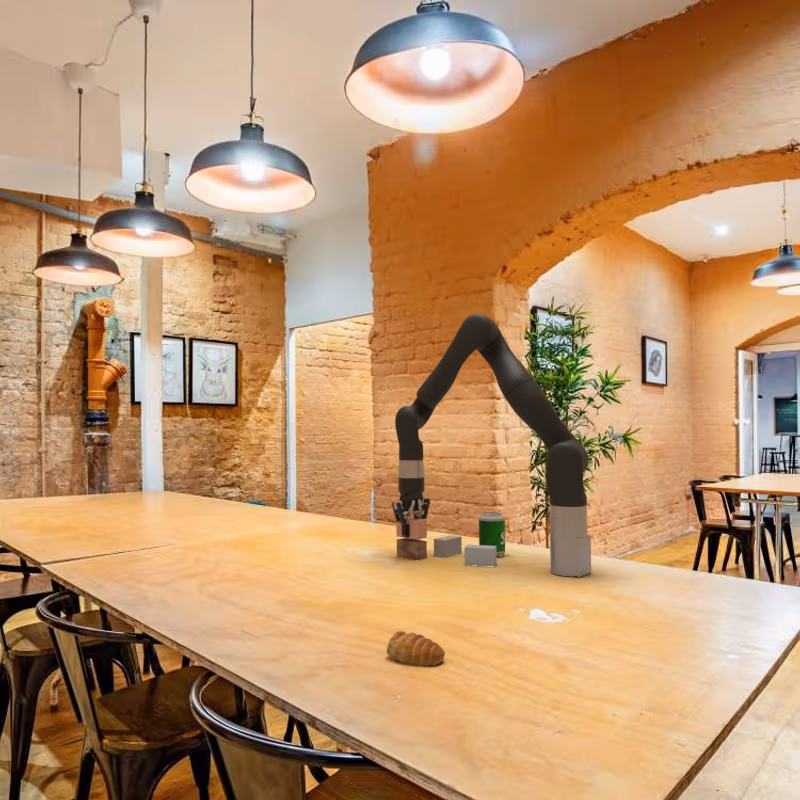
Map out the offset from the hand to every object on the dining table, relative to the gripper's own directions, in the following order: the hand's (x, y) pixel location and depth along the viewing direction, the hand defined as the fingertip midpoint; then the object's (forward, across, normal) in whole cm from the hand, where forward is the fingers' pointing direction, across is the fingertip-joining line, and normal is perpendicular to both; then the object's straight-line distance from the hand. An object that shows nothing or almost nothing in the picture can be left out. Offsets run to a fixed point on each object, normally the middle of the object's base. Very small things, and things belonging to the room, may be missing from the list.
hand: (411, 535), depth 180 cm
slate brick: (+6, +10, -5) cm, 13 cm away
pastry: (+7, -55, -53) cm, 77 cm away
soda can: (+6, +18, -15) cm, 24 cm away
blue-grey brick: (+6, +6, -20) cm, 22 cm away
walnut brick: (+6, 0, 0) cm, 6 cm away
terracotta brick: (0, 0, 0) cm, 0 cm away
